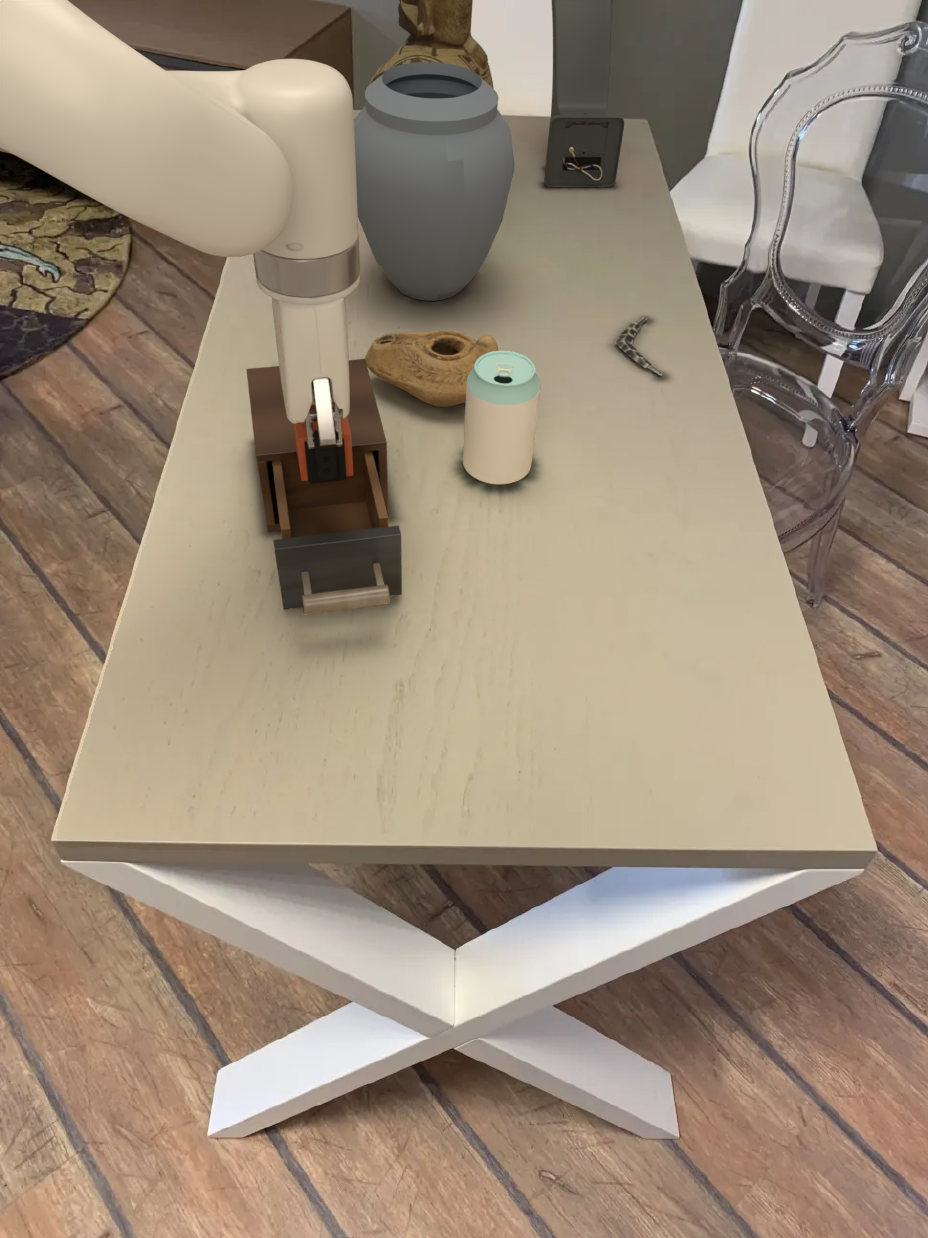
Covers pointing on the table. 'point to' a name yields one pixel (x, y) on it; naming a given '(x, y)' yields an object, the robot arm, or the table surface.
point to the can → (500, 417)
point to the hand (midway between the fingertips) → (323, 459)
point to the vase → (431, 175)
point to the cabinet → (279, 434)
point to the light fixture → (582, 98)
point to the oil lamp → (429, 363)
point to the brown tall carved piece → (438, 37)
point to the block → (302, 435)
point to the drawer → (335, 540)
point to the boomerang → (627, 346)
